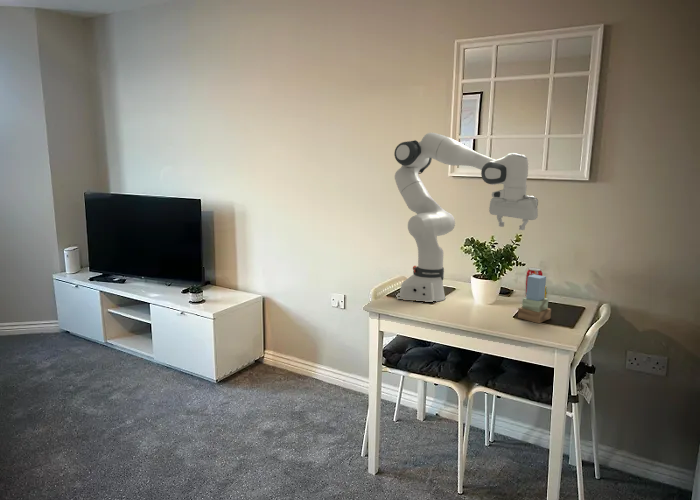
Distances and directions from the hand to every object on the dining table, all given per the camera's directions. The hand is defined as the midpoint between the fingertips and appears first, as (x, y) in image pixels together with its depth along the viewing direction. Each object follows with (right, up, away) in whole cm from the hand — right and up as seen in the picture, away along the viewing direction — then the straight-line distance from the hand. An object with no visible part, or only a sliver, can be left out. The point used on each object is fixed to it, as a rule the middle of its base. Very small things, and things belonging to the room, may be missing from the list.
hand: (511, 228), depth 203 cm
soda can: (+20, -30, +30) cm, 46 cm away
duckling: (+14, -34, +8) cm, 37 cm away
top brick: (+7, -28, -7) cm, 30 cm away
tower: (+7, -36, -5) cm, 37 cm away
